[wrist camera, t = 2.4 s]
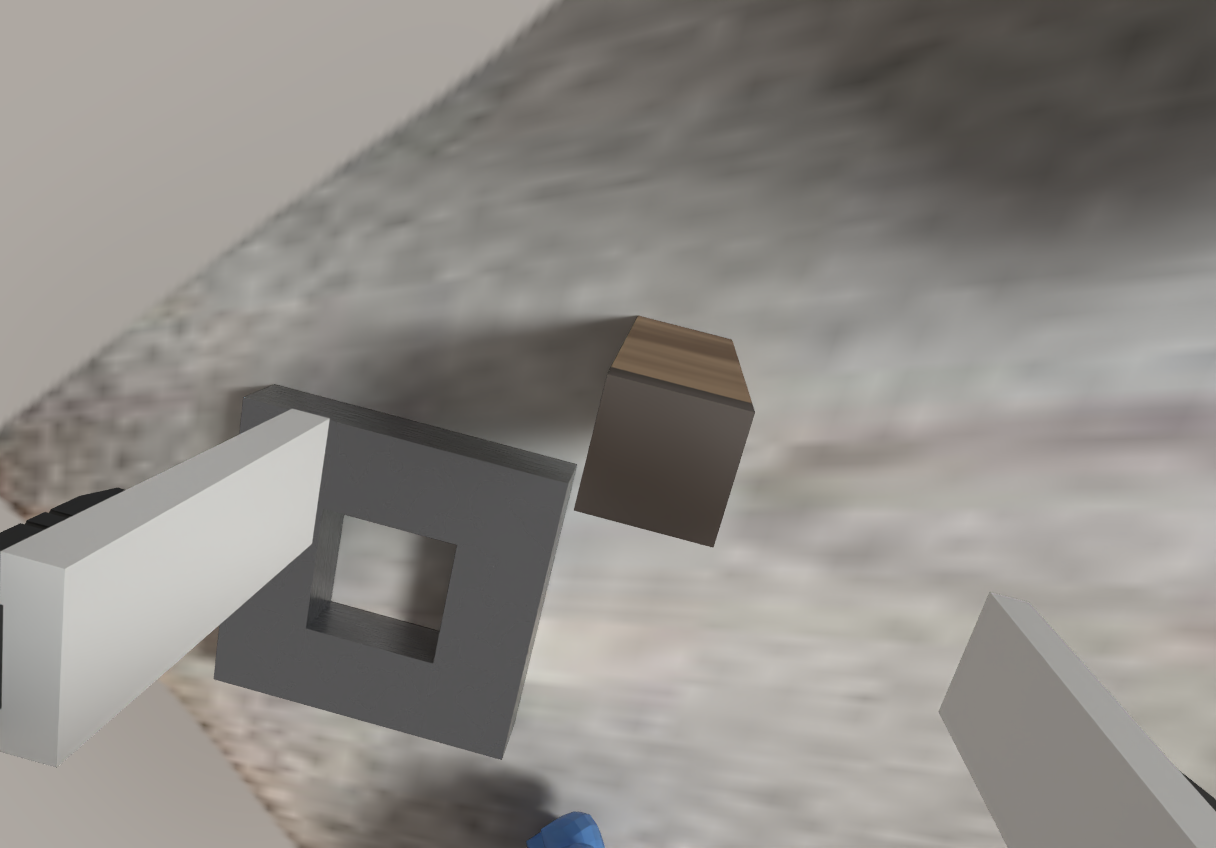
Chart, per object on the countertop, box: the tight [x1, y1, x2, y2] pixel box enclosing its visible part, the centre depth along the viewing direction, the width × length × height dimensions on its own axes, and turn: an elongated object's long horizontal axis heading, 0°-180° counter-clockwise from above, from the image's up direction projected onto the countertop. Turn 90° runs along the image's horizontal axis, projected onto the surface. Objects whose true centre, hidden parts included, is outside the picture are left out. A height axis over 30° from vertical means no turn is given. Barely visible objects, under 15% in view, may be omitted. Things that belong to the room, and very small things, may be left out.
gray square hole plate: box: [214, 385, 577, 760], centre depth 35 cm, size 14×14×2 cm
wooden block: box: [574, 316, 755, 547], centre depth 26 cm, size 4×4×12 cm
